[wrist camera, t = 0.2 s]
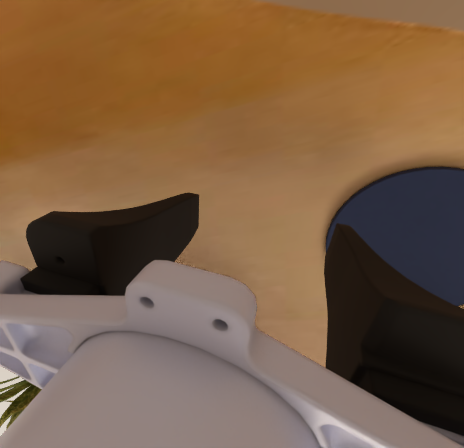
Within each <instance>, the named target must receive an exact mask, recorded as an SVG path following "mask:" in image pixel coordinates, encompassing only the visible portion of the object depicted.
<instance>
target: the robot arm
mask: <svg viewBox="0 0 464 448" xmlns="http://www.w3.org/2000/svg"><path fill="white" fill-rule="evenodd" d="M198 224H199V195H198V194H193V193H184V194H180V195H177V196H174V197H170V198H167V199H164V200H161V201H157V202H154V203H150V204H147V205H143V206H138V207H134V208H128V209H122V210H113V211H103V212H58V211H53V212H50V213H48V214H46V215H44V216H42V217H40V218H38V219H36V220H34V221H32V222H31V223H30V224H29V225H28V227H27V229H26V238H27V241H28V245H29V247H30V250H31V252H32V255H33V257H34V260H35V262H36V265H37V266H38V267H36V268H35V269H33V270H32V271H29V270H28V269H27V268H25V267H23V266H21V265H17V264H14V263H11V262H8V261H3V260H2V261H0V366H2V367H3V368H5V369H7V370H9V371H11V372H13V373H14V374H16V375H18V376H20V377H21V378H23V379H25V380H26V381H28V382H30V383H32V384H33V385H35V386H37V387H39V388H40V389H42V390H41V391H40V392H39V393H38V395H37V396H36V397H35V398H34V399H33V400H32V401H31V402H30V404H29V405H28V406H27V407H26V408H25V409H24V410H23V412H22V413H21V414H20V415H19V416H18V417H17V418H16V419H15V421H14V422H13V423H12V424H11V425H10V426H9V427H8V428H7V430H6V431H5V432H4V433H3V434H2V435H1V436H0V448H464V309H462V308H460V307H457V306H455V305H453V304H451V303H449V302H447V301H445V300H443V299H441V298H440V297H438V296H436V295H434V294H432V293H430V292H429V291H427V290H425V289H424V288H422V287H420V286H419V285H417V284H416V283H414V282H412V281H411V280H409V279H408V278H406V277H405V276H404V275H402V274H401V273H399V272H398V271H397V270H396V269H394V268H393V267H392V266H390V265H389V264H388V263H387V262H386V261H384V260H383V259H382V258H381V257H380V256H379V255H378V254H377V253H376V252H375V251H374V250H373V249H372V248H371V247H370V246H369V245H368V244H367V243H366V242H365V241H364V240H363V239H362V238H361V237H360V236H359V234H358V233H357V232H356V231H355V230H354V229H353V228H352V227H351V226H349V225H344V224H339V223H337V224H336V227H335V229H334V232H333V235H332V238H331V241H330V244H329V247H328V250H327V253H326V256H325V268H324V276H325V287H326V298H327V309H328V332H327V354H326V368H325V367H323V366H321V365H319V364H318V363H316V362H314V361H312V360H311V359H309V358H307V357H305V356H304V355H302V354H300V353H298V352H297V351H295V350H293V349H291V348H290V347H288V346H286V345H284V344H283V343H281V342H279V341H277V340H276V339H274V338H272V337H270V336H269V335H267V334H265V333H263V332H262V331H260V330H258V329H257V328H256V326H255V316H256V311H257V304H256V298H255V295H254V294H253V293H252V292H251V290H250V289H249V288H248V287H247V286H246V285H245V284H243V283H241V282H239V281H237V280H235V279H233V278H231V277H228V276H224V275H220V274H217V273H213V272H209V271H205V270H202V269H198V268H194V267H190V266H187V265H183V264H179V263H175V262H174V261H175V260H176V259H177V258H178V256H179V255H180V254H181V253H182V251H183V250H184V249H185V248H186V246H187V245H188V244H189V242H190V241H191V239H192V238H193V236H194V234H195V232H196V231H197V229H198Z"/></svg>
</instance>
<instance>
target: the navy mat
mask: <svg viewBox="0 0 464 448" xmlns="http://www.w3.org/2000/svg"><path fill="white" fill-rule="evenodd" d="M337 223H339V224H344V225H349V226H351V227H352V228H353V229H354V230H355V231H356V232H357V233H358V234H359V236H360V237H361V238H362V239H363V240H364V241H365V242H366V243H367V244H368V245H369V246H370V247H371V248H372V249H373V250H374V251H375V252H376V253H377V254H378V255H379V256H380V257H381V258H382V259H383V260H384V261H386V262H387V263H388V264H389V265H390V266H392V267H393V268H394V269H396V270H397V271H398V272H399V273H401V274H402V275H404V276H405V277H406V278H408V279H409V280H411V281H412V282H414V283H416V284H417V285H419V286H420V287H422V288H424V289H425V290H427V291H429V292H430V293H432V294H434V295H436V296H438V297H440V298H441V299H443V300H445V301H447V302H449V303H451V304H453V305H455V306H460V305H463V304H464V169H460V168H451V167H424V168H416V169H410V170H406V171H401V172H397V173H395V174H392V175H389V176H386V177H383V178H381V179H379V180H377V181H375V182H373V183H371V184H369V185H367V186H366V187H364V188H362V189H361V190H360V191H358V192H357V193H356V194H354V195H353V196H352V197H351V198H350V199H349V200H348V201H347V202H346V203H344V204H343V206H342V207H341V208H340V209H339V211H338V212H337V213H336V215H335V217H334V218H333V220H332V222H331V224H330V227H329V229H328V233H327V237H326V253H327V250H328V247H329V244H330V241H331V238H332V235H333V232H334V229H335V227H336V224H337Z"/></svg>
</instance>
